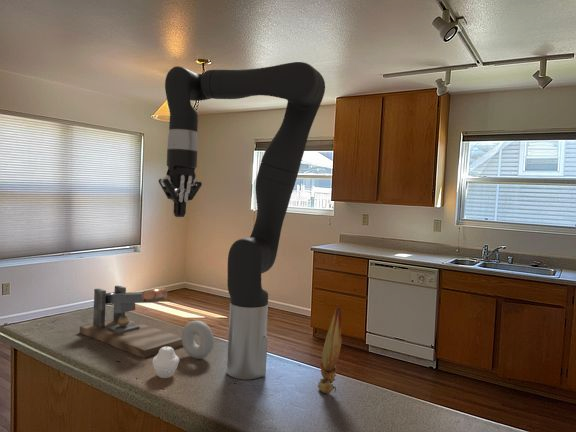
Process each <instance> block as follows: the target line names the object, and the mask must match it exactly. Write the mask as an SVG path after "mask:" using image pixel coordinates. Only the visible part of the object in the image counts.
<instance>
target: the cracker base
mask: <svg viewBox="0 0 576 432" xmlns="http://www.w3.org/2000/svg"><path fill="white" fill-rule="evenodd" d="M93 292H94V294H93V315H92V316H93V318H92V319H93V322H92V323H88V324H84V325H80V326H79V334H82V335H85V336H87V337H89V338H92V339H94V340H97V341H99V340H100V342H103V343H104V342H105V344H108V345H110V346H113V347H115V348H117V349H120V350H123V351H126V352H128V353H130V354H133V355H135V356H138V357H140V358H143V359H145V358H148V357H151V356H152V357H153V356H156V355H157V354H158V353H159V350H160V349H161V348H162V347H166V346H167V347H172V348H173V349H174V350H175V349H178V348H181V347H183V344H182V338H181V337H182V335H181V336H180V335H177V334H174V333H171V332H168V331H165V330H162V329H159V328H156V327H153V326H149V325H147V324H143V323H141V322H138V321H137V322H136V321H134V320H131V319H130V318H129V317H128V316H126V312H123V313H115V311H114V310H113V318H111V319H106V305H107V304H106V293H107V290H104V289H102V288H94V290H93ZM113 292H118V293H127V287H126V286H121V285H115V286H114V291H113Z"/></svg>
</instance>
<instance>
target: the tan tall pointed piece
mask: <svg viewBox="0 0 576 432" xmlns="http://www.w3.org/2000/svg"><path fill="white" fill-rule="evenodd" d="M342 317H343V313H342V310H341V307H340V306H337V307H336V308H335V310H334V314H333V317H332V318H331V321H330V322H331V323H330V324H329V328H328V330H327V333H326V336H325V340H324V341H325V342H324V344H323V350H322V353H321V361H322V362H320V364H319V365H320V366H319V368H320V372H321V373H320V374H321V376H322V378H320V381H318V384H317V388H318V390H319V391H321V392H322V393H324V394H331V393H332V392H333V390H334V392H336V390H337V389H336V388H337V387H336V386H334V385H333V382H334V381H336V379H335V378H336V376H337V374H336V372H337V369H338V368H337V367H338V366H337V365H338V364H337V361H338V359H339V355H340V352H341V348H342V342H343V336H342V326H343V325H342V323H343V322H342V319H343V318H342Z"/></svg>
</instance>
